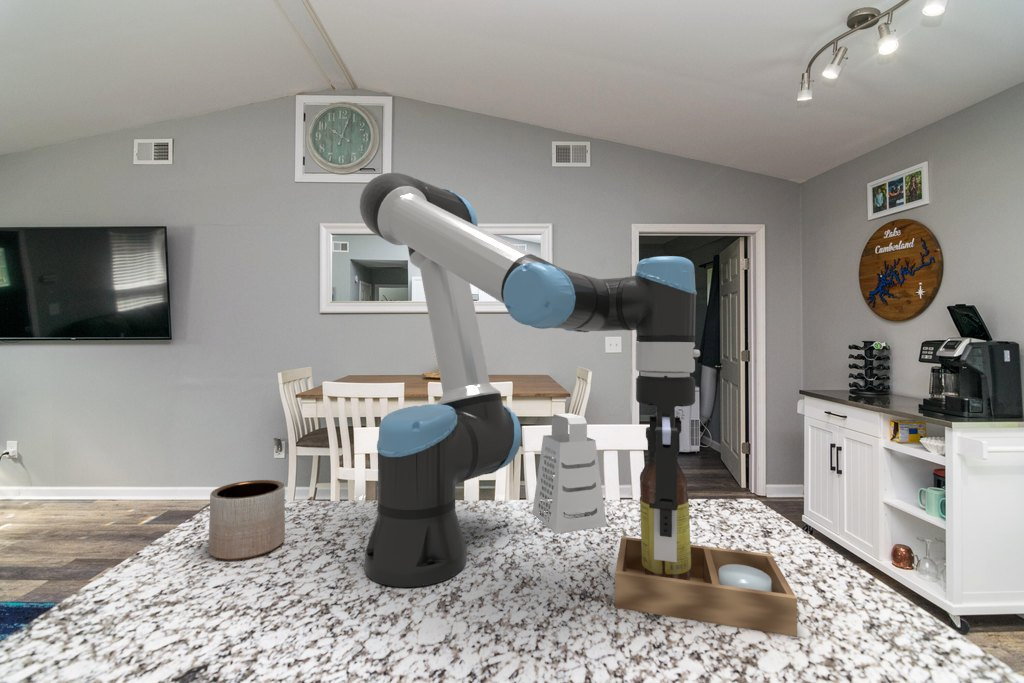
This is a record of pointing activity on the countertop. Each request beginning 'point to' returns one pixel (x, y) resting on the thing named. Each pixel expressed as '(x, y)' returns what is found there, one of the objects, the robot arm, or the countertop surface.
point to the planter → (246, 519)
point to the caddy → (707, 590)
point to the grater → (569, 477)
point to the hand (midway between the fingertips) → (664, 548)
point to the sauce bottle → (647, 523)
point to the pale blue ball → (744, 577)
